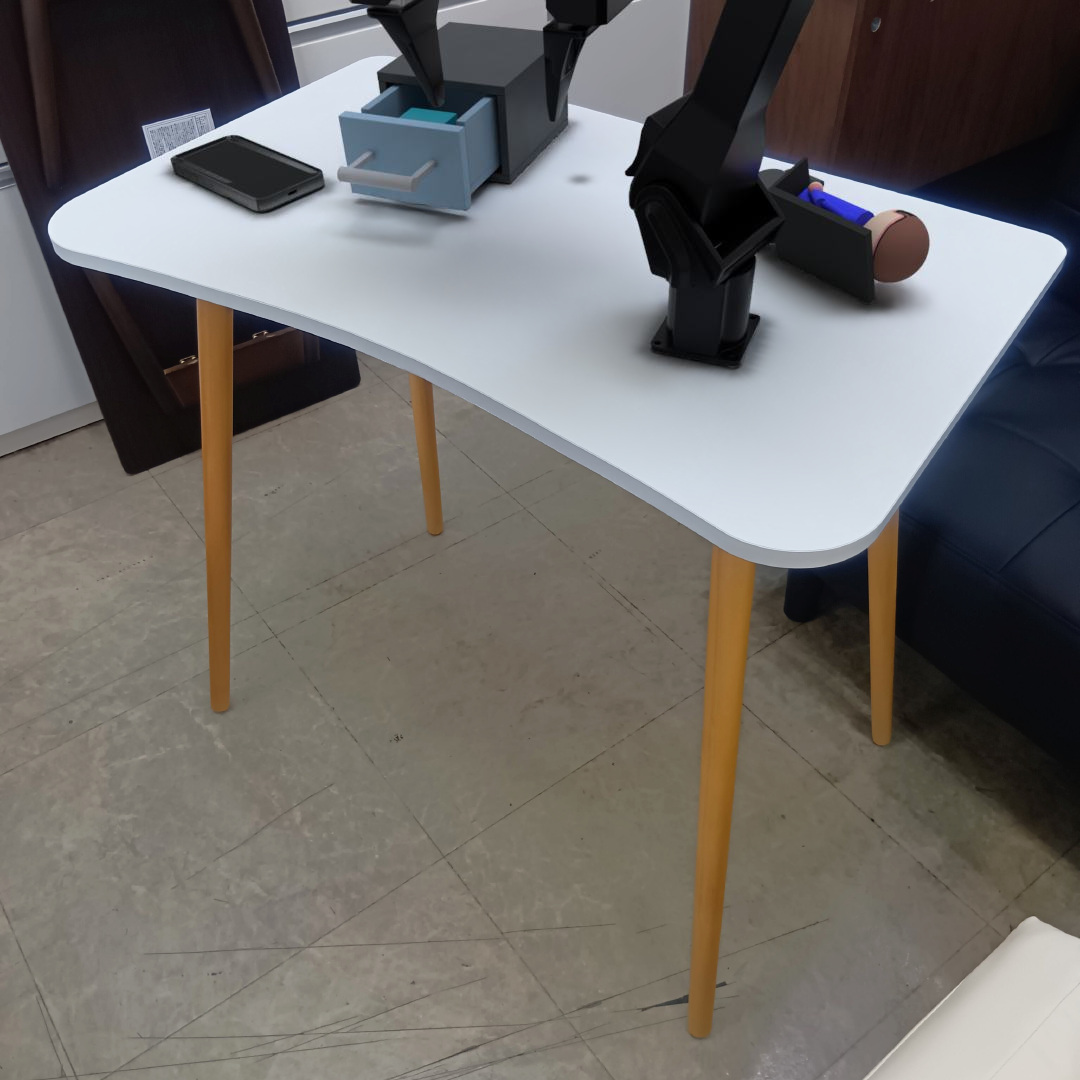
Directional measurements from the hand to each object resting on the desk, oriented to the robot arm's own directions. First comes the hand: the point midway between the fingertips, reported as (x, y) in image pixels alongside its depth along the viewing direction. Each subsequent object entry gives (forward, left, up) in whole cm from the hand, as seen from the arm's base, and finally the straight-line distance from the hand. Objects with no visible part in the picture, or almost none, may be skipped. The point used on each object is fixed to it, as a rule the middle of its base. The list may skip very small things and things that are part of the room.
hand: (495, 112), depth 70 cm
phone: (+7, +30, -12) cm, 33 cm away
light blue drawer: (+10, +12, -11) cm, 19 cm away
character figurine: (+7, -24, -12) cm, 28 cm away
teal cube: (+10, +12, -10) cm, 18 cm away
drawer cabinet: (+21, +12, -12) cm, 27 cm away
